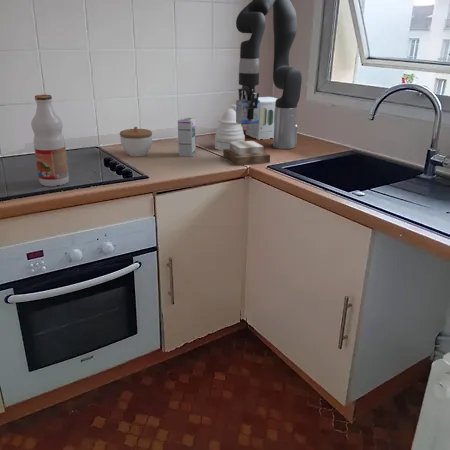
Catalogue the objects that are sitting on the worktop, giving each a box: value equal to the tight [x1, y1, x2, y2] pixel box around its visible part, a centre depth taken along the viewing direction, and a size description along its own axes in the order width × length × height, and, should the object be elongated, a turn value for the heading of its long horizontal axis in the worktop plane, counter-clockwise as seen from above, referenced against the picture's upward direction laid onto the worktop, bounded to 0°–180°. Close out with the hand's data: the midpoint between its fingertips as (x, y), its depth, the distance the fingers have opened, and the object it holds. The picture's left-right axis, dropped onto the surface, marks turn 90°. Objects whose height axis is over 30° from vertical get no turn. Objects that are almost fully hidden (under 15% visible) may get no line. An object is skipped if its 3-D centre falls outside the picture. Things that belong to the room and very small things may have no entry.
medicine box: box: [235, 99, 260, 126], centre depth 177 cm, size 8×4×9 cm, turn 117°
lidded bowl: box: [119, 126, 153, 157], centre depth 187 cm, size 13×13×11 cm
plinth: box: [222, 140, 271, 166], centre depth 183 cm, size 14×14×6 cm
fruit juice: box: [31, 94, 70, 187], centre depth 148 cm, size 9×9×28 cm
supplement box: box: [245, 96, 279, 141], centre depth 220 cm, size 13×13×18 cm
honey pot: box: [214, 104, 246, 152], centre depth 198 cm, size 13×13×18 cm
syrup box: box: [177, 117, 197, 158], centre depth 186 cm, size 6×6×14 cm
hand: (247, 118), depth 178 cm, fingers closed on medicine box, 4 cm apart
